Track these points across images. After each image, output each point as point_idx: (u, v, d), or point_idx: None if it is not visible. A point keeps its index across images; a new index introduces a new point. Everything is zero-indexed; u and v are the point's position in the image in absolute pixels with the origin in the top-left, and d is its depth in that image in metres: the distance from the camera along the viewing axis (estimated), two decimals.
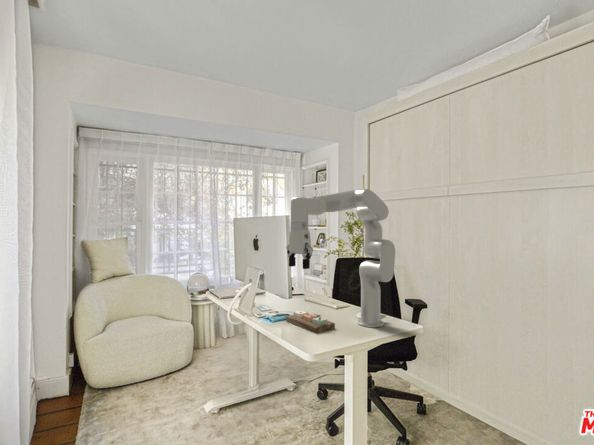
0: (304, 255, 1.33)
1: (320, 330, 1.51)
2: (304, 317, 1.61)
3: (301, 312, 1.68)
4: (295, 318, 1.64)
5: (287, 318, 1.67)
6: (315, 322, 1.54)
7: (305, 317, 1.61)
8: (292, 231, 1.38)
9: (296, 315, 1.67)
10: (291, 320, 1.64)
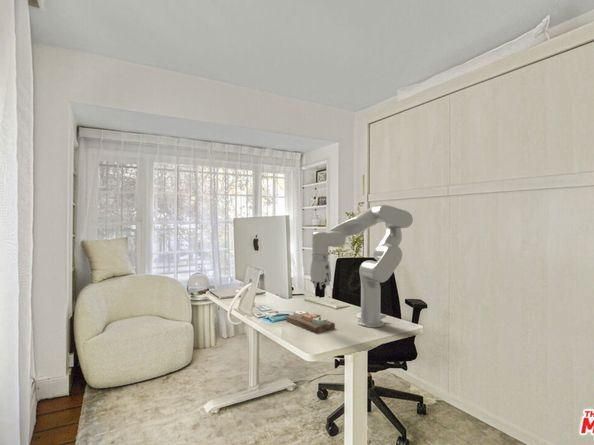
0: (321, 286, 1.53)
1: (320, 330, 1.51)
2: (304, 317, 1.61)
3: (301, 312, 1.68)
4: (295, 318, 1.64)
5: (287, 318, 1.67)
6: (315, 322, 1.54)
7: (305, 317, 1.61)
8: (314, 262, 1.56)
9: (296, 315, 1.67)
10: (291, 320, 1.64)
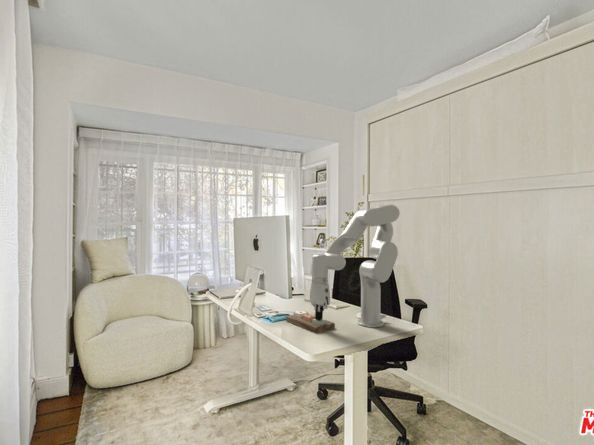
0: (319, 309, 1.54)
1: (320, 330, 1.51)
2: (304, 317, 1.61)
3: (301, 312, 1.68)
4: (295, 318, 1.64)
5: (287, 318, 1.67)
6: (315, 323, 1.54)
7: (305, 317, 1.61)
8: (313, 284, 1.56)
9: (296, 315, 1.67)
10: (291, 320, 1.64)
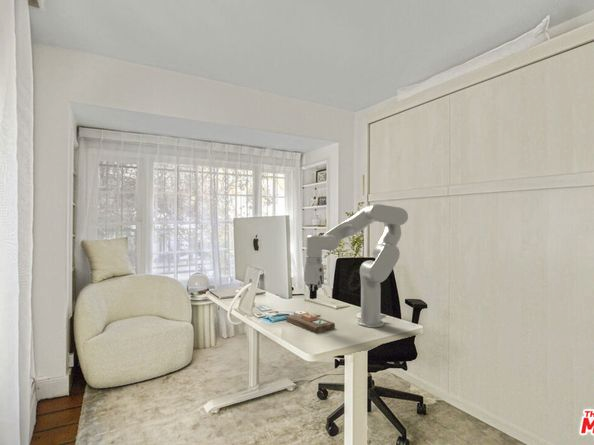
0: (313, 288, 1.57)
1: (320, 330, 1.51)
2: (304, 317, 1.61)
3: (301, 312, 1.68)
4: (295, 318, 1.64)
5: (287, 318, 1.67)
6: None
7: (305, 317, 1.61)
8: (308, 264, 1.59)
9: (296, 315, 1.67)
10: (291, 320, 1.64)
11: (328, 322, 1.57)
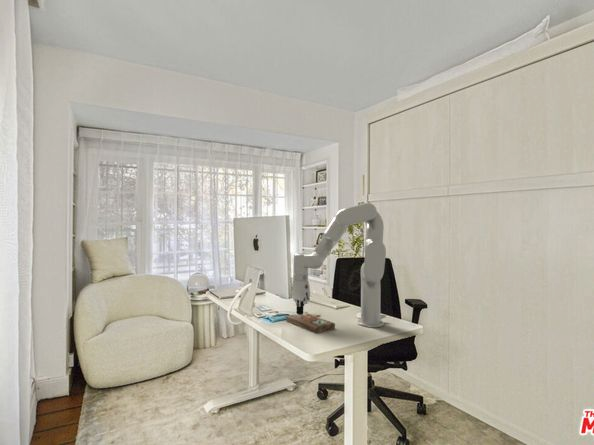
0: (300, 304, 1.66)
1: (320, 330, 1.51)
2: (304, 317, 1.61)
3: (301, 314, 1.67)
4: (295, 318, 1.64)
5: (287, 318, 1.67)
6: None
7: (305, 317, 1.61)
8: (294, 281, 1.68)
9: None
10: (291, 320, 1.64)
11: (328, 322, 1.57)
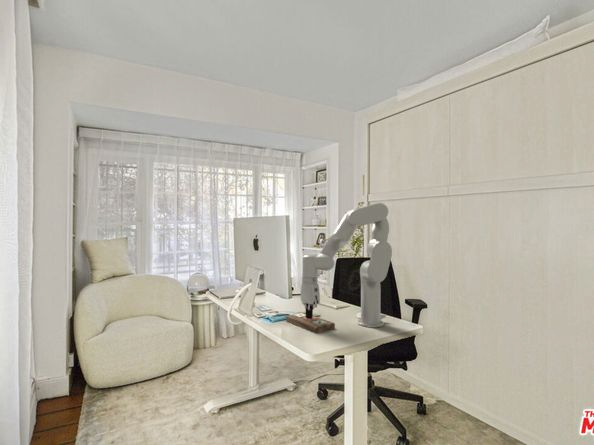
0: (309, 307, 1.60)
1: (320, 330, 1.51)
2: (304, 319, 1.61)
3: (301, 315, 1.67)
4: (295, 318, 1.64)
5: (287, 318, 1.67)
6: None
7: (305, 319, 1.61)
8: (303, 284, 1.62)
9: None
10: (291, 320, 1.64)
11: (328, 322, 1.57)
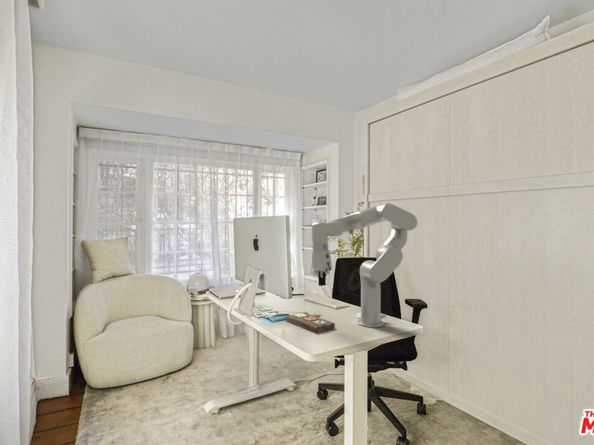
0: (321, 275, 1.58)
1: (320, 330, 1.51)
2: None
3: (301, 315, 1.67)
4: (295, 318, 1.64)
5: (287, 318, 1.67)
6: None
7: (305, 320, 1.61)
8: (314, 252, 1.60)
9: None
10: (291, 320, 1.64)
11: (328, 322, 1.57)
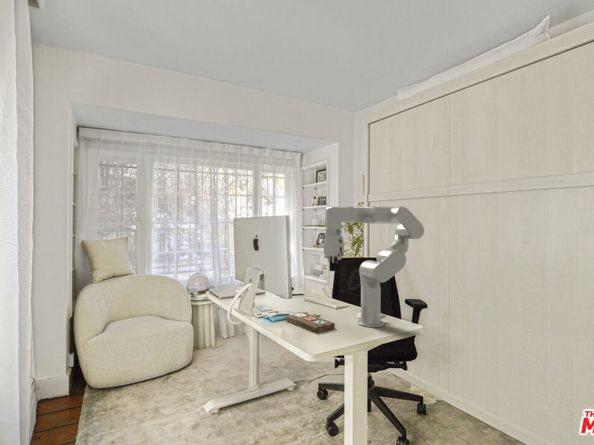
0: (333, 260, 1.56)
1: (320, 330, 1.51)
2: None
3: (301, 315, 1.67)
4: (295, 318, 1.64)
5: (287, 318, 1.67)
6: None
7: (305, 320, 1.61)
8: (327, 236, 1.58)
9: None
10: (291, 320, 1.64)
11: (328, 322, 1.57)
